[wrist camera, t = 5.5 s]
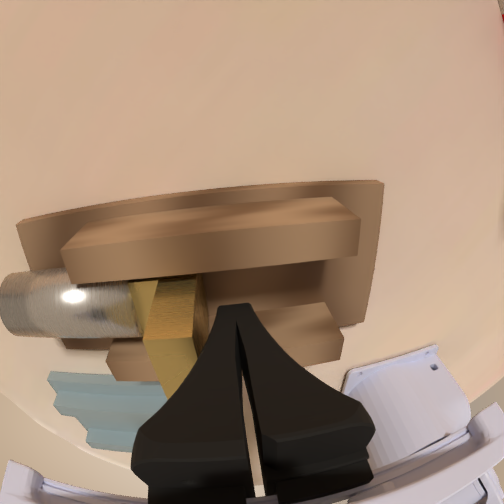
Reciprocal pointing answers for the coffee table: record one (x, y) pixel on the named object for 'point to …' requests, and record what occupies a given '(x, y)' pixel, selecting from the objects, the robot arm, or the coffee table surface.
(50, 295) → the shiny metal cylinder
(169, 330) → the tan blocky piece
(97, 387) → the rack
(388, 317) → the coffee table surface
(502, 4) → the puzzle toy
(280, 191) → the socket block
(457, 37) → the coffee table surface
